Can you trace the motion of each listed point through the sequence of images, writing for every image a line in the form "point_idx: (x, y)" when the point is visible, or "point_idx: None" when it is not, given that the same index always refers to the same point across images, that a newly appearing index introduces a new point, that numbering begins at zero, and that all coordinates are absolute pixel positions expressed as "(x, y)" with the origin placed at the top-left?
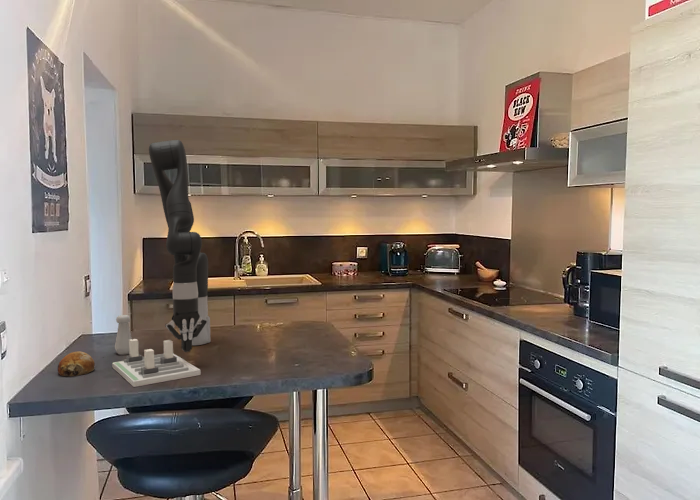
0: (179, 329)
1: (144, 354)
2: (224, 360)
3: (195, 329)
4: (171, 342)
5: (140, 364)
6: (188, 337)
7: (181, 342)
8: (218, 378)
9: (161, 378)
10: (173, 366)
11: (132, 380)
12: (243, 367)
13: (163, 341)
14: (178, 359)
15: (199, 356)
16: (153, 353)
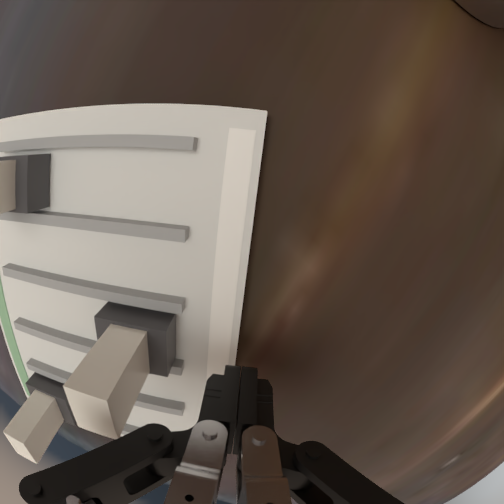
0: (171, 485)
1: (12, 422)
2: (412, 352)
3: (332, 490)
4: (111, 433)
5: (28, 281)
6: (236, 471)
7: (200, 411)
8: None
9: None
10: (139, 406)
11: (24, 390)
12: (374, 446)
13: (65, 382)
14: (216, 292)
15: (394, 203)
16: (40, 456)
